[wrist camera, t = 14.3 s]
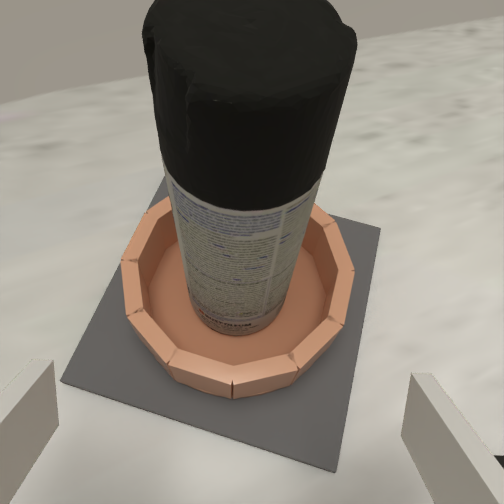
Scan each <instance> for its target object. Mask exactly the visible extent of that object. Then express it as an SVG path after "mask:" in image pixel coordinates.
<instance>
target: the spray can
mask: <svg viewBox="0 0 504 504" xmlns="http://www.w3.org/2000/svg"><path fill="white" fill-rule="evenodd" d="M142 38H143V44H144V52H145V54H146V58H147V64H148V73H149V79H150V84H151V90H152V94H153V103H154V113H155V120H156V126H157V131H158V137H159V144H160V151H161V154H162V161H163V166H164V172H165V177H166V182H167V187H168V193H169V198H170V202H171V207H172V213H173V217H174V222H175V227H176V232H177V237H178V242H179V247H180V252H181V257H182V262H183V268H184V273H185V278H186V283H187V288H188V293H189V298H190V302H191V305H192V307H193V309H194V311H195V313H196V314H197V315H198V317H199V318H200V319H201V320H202V321H203V322H204V323H205V324H206V325H207V326H208V327H209V328H211V329H212V330H214V331H216V332H219V333H221V334H226V335H232V336H242V335H249V334H252V333H255V332H257V331H259V330H261V329H263V328H264V327H266V326H267V325H269V324H270V323H271V322H272V321H273V320H274V319H275V318H276V316H277V315H278V314H279V312H280V310H281V309H282V307H283V304H284V301H285V298H286V294H287V291H288V288H289V285H290V281H291V278H292V275H293V271H294V268H295V265H296V261H297V258H298V255H299V251H300V248H301V245H302V241H303V238H304V235H305V232H306V228H307V225H308V221H309V218H310V215H311V211H312V208H313V205H314V202H315V198H316V195H317V191H318V188H319V184H320V181H321V178H322V175H323V171H324V170H325V167H326V163H327V159H328V155H329V151H330V147H331V143H332V140H333V136H334V133H335V129H336V126H337V122H338V118H339V115H340V111H341V107H342V104H343V100H344V96H345V93H346V89H347V86H348V82H349V78H350V75H351V71H352V68H353V64H354V60H355V55H356V50H357V38H356V33H355V32H354V30H353V29H352V28H351V27H349V26H347V25H345V24H344V23H342V21H341V19H340V17H339V15H338V13H337V11H336V10H335V9H334V7H333V6H332V5H331V4H330V3H329V2H328V1H327V0H155V1H154V3H153V4H152V5H151V7H150V8H149V11H148V13H147V15H146V18H145V20H144V25H143V30H142Z"/></svg>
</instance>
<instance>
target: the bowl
mask: <svg viewBox="0 0 504 504" xmlns="http://www.w3.org/2000/svg"><path fill="white" fill-rule="evenodd" d="M121 260H122V261H121V270H122V280H123V290H124V300H125V309H126V316H127V318H128V320H129V322H130V323H131V325H132V327H133V328H134V330H135V332H136V333H137V335H138V337H139V339H140V340H141V341H142V342H143V344H144V345H145V346H146V347H147V348H148V349H149V351H150V352H151V353H152V354H153V356H154V357H155V358H156V360H157V361H158V363H159V364H160V365H161V366H162V367H163V368H164V369H165V370H166V371H167V372H168V373H169V375H170V376H171V377H172V378H173V379H174V380H176V382H179V383H182V384H185V385H187V386H189V387H191V388H193V389H196V390H198V391H201V392H203V393H206V394H210V395H214V396H219V397H226V398H229V399H231V398H233V399H237V398H247V397H253V396H259V395H263V394H266V393H270V392H273V391H275V390H278V389H280V388H283V387H288V386H290V384H291V385H292V384H293V383H294V382H295V381H296V380H297V379H298V378H299V377H300V376H301V375H302V374H303V373H305V372H306V371H307V370H308V369H309V368H310V367H311V366H312V365H313V363H314V362H315V361H316V360H317V359H318V358H319V357H320V356H321V355H322V354H323V353H324V352H325V351H326V350H327V349H328V348H329V347H330V345H331V344H332V342H333V341H334V339H335V338H336V336H337V335H338V333H339V332H340V330H341V329H342V327H343V325H344V322H345V317H346V313H347V308H348V303H349V298H350V293H351V288H352V283H353V279H354V274H355V272H354V270H355V269H354V267H353V264H352V261H351V259H350V256H349V254H348V251H347V248H346V246H345V243H344V241H343V238H342V236H341V233H340V230H339V228H338V225H337V223H336V222H335V220H334V219H333V218H332V217H330V216H329V215H328V214H327V213H326V212H324V211H323V210H322V209H321V208H320V207H319V206H317V205H316V204H315V203H314V205H313V208H312V211H311V215H310V218H309V221H308V225H307V228H306V232H305V235H304V238H303V241H302V245H301V248H300V251H299V255H298V258H297V261H296V265H295V268H294V271H293V275H292V278H291V281H290V285H289V288H288V291H287V294H286V298H285V301H284V304H283V307H282V309H281V310H280V312H279V314H278V315H277V316H276V318H275V319H274V320H273V321H272V322H271V323H270V324H269V325H267V326H266V327H264V328H263V329H261V330H259V331H257V332H255V333H252V334H249V335H242V336H232V335H226V334H221V333H219V332H216V331H214V330H212V329H211V328H209V327H208V326H207V325H206V324H205V323H204V322H203V321H202V320H201V319H200V318H199V317H198V315H197V314H196V313H195V311H194V309H193V307H192V305H191V302H190V298H189V293H188V288H187V283H186V278H185V273H184V268H183V262H182V257H181V252H180V247H179V242H178V237H177V232H176V227H175V222H174V217H173V213H172V207H171V202H170V198H169V196H168V197H166V198H165V199H163V200H162V201H160V202H159V203H157V204H156V205H154V206H153V207H151V208H150V209H149V210H147V211H146V213H144V215H143V217H142V219H141V221H140V223H139V225H138V227H137V229H136V231H135V232H134V234H133V236H132V238H131V240H130V242H129V244H128V246H127V248H126V250H125V252H124V254H123V256H122V258H121Z"/></svg>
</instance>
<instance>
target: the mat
mask: <svg viewBox="0 0 504 504" xmlns="http://www.w3.org/2000/svg"><path fill="white" fill-rule="evenodd" d="M168 196H169V193H168V187H167V182H166V177H165V176H164V178H163V180H162V182H161V184H160V186H159V188H158V190H157V192H156V194H155V196H154V198H153V200H152V202H151V204H150V205H149V207H148V209H147V210H149V209H150V208H151V207H153V206H154V205H156V204H157V203H159V202H160V201H162V200H163V199H165V198H166V197H168ZM328 215H329V216H330V217H332V218H333V219H334V220H335V222H336V223H337V225H338V228H339V230H340V233H341V236H342V238H343V241H344V243H345V246H346V248H347V251H348V254H349V256H350V259H351V261H352V264H353V267H354V269H355V270H354V272H355V274H354V279H353V283H352V288H351V293H350V298H349V303H348V308H347V313H346V317H345V322H344V325H343V327H342V329H341V330H340V332H339V333H338V335H337V336H336V338H335V339H334V341H333V342H332V344H331V345H330V347H329V348H328V349H327V350H326V351H325V352H324V353H323V354H322V355H321V356H320V357H319V358H318V359H317V360H316V361H315V362H314V363H313V365H312V366H311V367H310V368H309V369H308V370H307V371H306V372H305V373H303V374H302V375H301V376H300V377H299V378H298V379H297V380H296V381H295V382H294V383H293V384H292V385H291V384H290V386H288V387H283V388H280V389H278V390H275V391H273V392H270V393H266V394H263V395H259V396H253V397H247V398H237V399H233V398H231V399H229V398H226V397H219V396H214V395H210V394H206V393H203V392H201V391H198V390H196V389H193V388H191V387H189V386H187V385H185V384H182V383H179V382H176V380H174V379H173V378H172V377H171V376H170V375H169V373H168V372H167V371H166V370H165V369H164V368H163V367H162V366H161V365H160V364H159V363H158V361H157V360H156V358H155V357H154V356H153V354H152V353H151V352H150V351H149V349H148V348H147V347H146V346H145V345H144V344H143V342H142V341H141V340H140V339H139V337H138V335H137V333H136V332H135V330H134V328H133V327H132V325H131V323H130V322H129V320H128V318H127V316H126V309H125V300H124V290H123V280H122V270H121V262H120V264H119V266H118V268H117V270H116V272H115V274H114V276H113V278H112V280H111V282H110V284H109V286H108V288H107V289H106V291H105V293H104V295H103V297H102V299H101V301H100V303H99V305H98V307H97V309H96V311H95V313H94V315H93V317H92V319H91V321H90V323H89V325H88V327H87V329H86V331H85V332H84V334H83V336H82V338H81V340H80V342H79V344H78V346H77V348H76V350H75V352H74V354H73V356H72V358H71V360H70V362H69V364H68V366H67V368H66V370H65V372H64V373H63V375H62V377H61V379H60V381H61V382H62V383H65V384H68V385H71V386H74V387H77V388H80V389H83V390H86V391H89V392H92V393H95V394H98V395H101V396H104V397H107V398H110V399H113V400H116V401H119V402H122V403H125V404H128V405H131V406H134V407H137V408H140V409H143V410H146V411H149V412H152V413H155V414H158V415H161V416H164V417H167V418H170V419H173V420H176V421H179V422H182V423H185V424H188V425H191V426H194V427H197V428H200V429H203V430H206V431H210V432H213V433H216V434H219V435H222V436H225V437H228V438H231V439H234V440H237V441H240V442H243V443H246V444H249V445H252V446H255V447H258V448H261V449H264V450H267V451H270V452H273V453H276V454H279V455H282V456H285V457H288V458H291V459H294V460H297V461H300V462H303V463H306V464H309V465H312V466H315V467H318V468H321V469H324V470H327V471H330V472H333V473H335V472H336V470H337V464H338V459H339V453H340V448H341V442H342V437H343V432H344V426H345V421H346V415H347V410H348V404H349V399H350V393H351V388H352V382H353V377H354V371H355V366H356V361H357V355H358V350H359V344H360V339H361V333H362V328H363V322H364V317H365V311H366V306H367V301H368V295H369V290H370V284H371V279H372V273H373V268H374V262H375V257H376V251H377V246H378V241H379V235H380V230H381V228H378V227H375V226H371V225H367V224H363V223H360V222H356V221H352V220H349V219H345V218H341V217H337V216H334V215H330V214H328ZM121 261H122V260H121Z"/></svg>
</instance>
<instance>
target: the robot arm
mask: <svg viewBox="0 0 504 504" xmlns="http://www.w3.org/2000/svg"><path fill="white" fill-rule="evenodd" d="M58 426H59V420H58V408H57V397H56V385H55V373H54V362H53V360H38V359H32V360H31V361H30V362H29V363H28V364H27V365H26V366H25V367H24V368H23V370H22V371H21V372H20V373H19V374H18V375H17V376H16V377H15V378H14V379H13V380H12V381H11V382H10V384H9V385H8V386H7V387H6V388H5V389H4V390H3V391H2V392H1V393H0V504H9V503H10V501H11V500H12V498H13V496H14V495H15V493H16V492H17V490H18V489H19V487H20V485H21V484H22V482H23V481H24V479H25V478H26V476H27V474H28V473H29V471H30V470H31V468H32V467H33V465H34V463H35V462H36V460H37V459H38V457H39V455H40V454H41V452H42V451H43V449H44V448H45V446H46V444H47V443H48V441H49V440H50V438H51V437H52V435H53V433H54V432H55V430H56V429H57V427H58ZM401 437H402V439H403V441H404V443H405V445H406V447H407V449H408V451H409V453H410V455H411V457H412V459H413V461H414V463H415V465H416V467H417V469H418V471H419V473H420V475H421V477H422V479H423V481H424V483H425V485H426V487H427V489H428V491H429V493H430V495H431V497H432V499H433V501H434V503H435V504H504V456H496V455H493V454H492V453H491V452H490V450H489V449H488V448H487V446H486V445H485V444H484V442H483V441H482V440H481V438H480V437H479V436H478V434H477V433H476V432H475V430H474V429H473V428H472V426H471V425H470V424H469V422H468V421H467V420H466V418H465V417H464V416H463V414H462V413H461V412H460V411H459V409H458V408H457V407H456V405H455V404H454V403H453V401H452V400H451V399H450V397H449V396H448V395H447V393H446V392H445V391H444V389H443V388H442V387H441V385H440V384H439V383H438V381H437V380H436V379H435V377H434V376H433V375H432V374H430V373H411V377H410V383H409V389H408V395H407V401H406V407H405V413H404V420H403V426H402V432H401Z"/></svg>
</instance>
